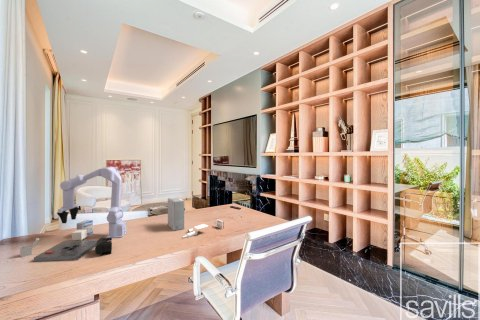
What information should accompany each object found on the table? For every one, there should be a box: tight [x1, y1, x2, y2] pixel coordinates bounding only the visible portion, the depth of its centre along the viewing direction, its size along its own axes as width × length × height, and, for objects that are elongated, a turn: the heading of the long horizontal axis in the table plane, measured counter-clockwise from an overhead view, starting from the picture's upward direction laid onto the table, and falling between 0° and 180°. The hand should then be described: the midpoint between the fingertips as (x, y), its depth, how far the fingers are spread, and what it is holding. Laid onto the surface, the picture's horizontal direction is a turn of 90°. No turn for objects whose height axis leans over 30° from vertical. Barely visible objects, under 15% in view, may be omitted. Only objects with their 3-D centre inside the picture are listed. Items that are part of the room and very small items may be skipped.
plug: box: [71, 229, 88, 241], centre depth 129 cm, size 5×5×6 cm
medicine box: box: [76, 219, 94, 236], centre depth 139 cm, size 8×4×9 cm, turn 168°
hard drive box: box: [167, 197, 185, 231], centre depth 156 cm, size 16×8×20 cm, turn 34°
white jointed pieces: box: [181, 218, 225, 239], centre depth 146 cm, size 10×6×30 cm
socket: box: [33, 239, 98, 262], centre depth 115 cm, size 20×20×2 cm
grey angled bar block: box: [19, 237, 40, 258], centre depth 112 cm, size 7×2×8 cm, turn 130°
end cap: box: [94, 236, 113, 257], centre depth 115 cm, size 10×7×7 cm
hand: (69, 221), depth 135 cm, fingers open, 7 cm apart
